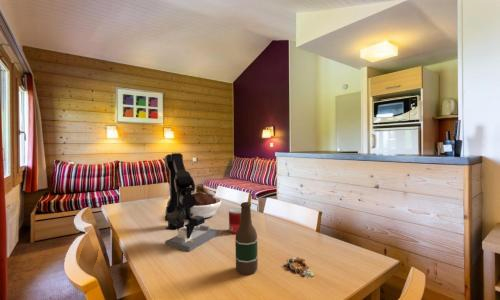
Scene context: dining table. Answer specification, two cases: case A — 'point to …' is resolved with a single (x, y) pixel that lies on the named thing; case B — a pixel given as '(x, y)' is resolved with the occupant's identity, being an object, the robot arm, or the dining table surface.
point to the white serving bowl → (205, 205)
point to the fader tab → (183, 234)
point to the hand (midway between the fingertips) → (184, 237)
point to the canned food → (234, 220)
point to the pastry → (299, 267)
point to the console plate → (193, 238)
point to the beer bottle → (246, 243)
